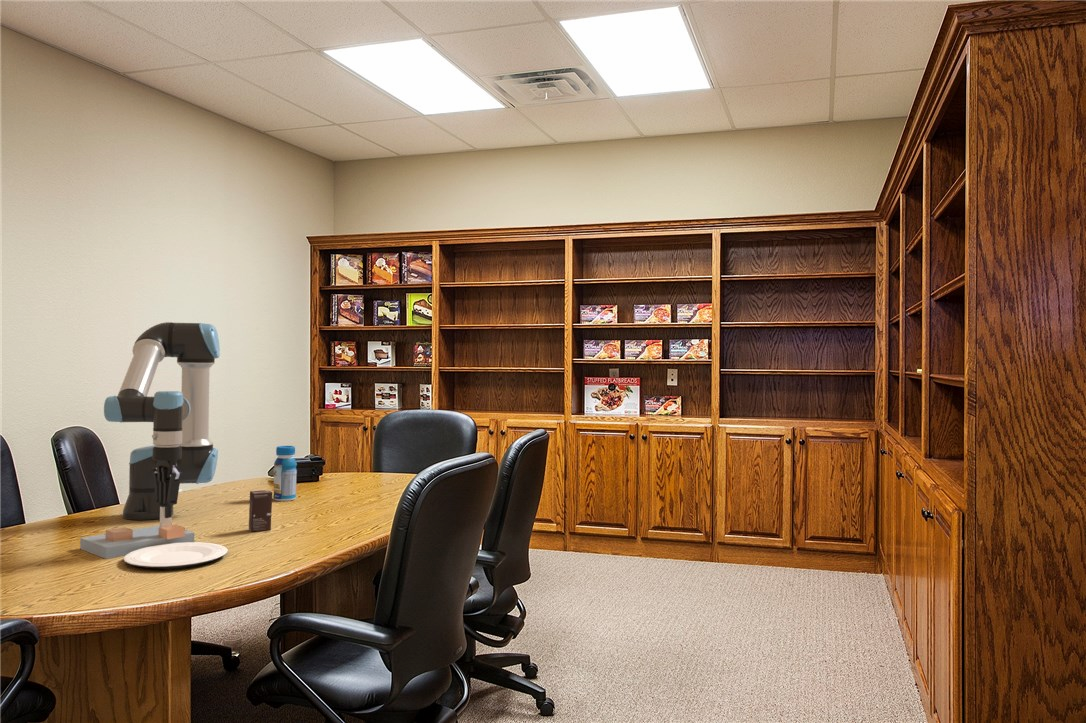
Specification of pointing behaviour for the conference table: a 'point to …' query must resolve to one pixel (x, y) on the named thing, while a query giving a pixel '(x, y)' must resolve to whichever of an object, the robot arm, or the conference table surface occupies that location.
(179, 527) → the tile
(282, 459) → the beverage bottle
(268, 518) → the box
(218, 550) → the plate
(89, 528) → the conference table surface
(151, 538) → the board
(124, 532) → the tile
